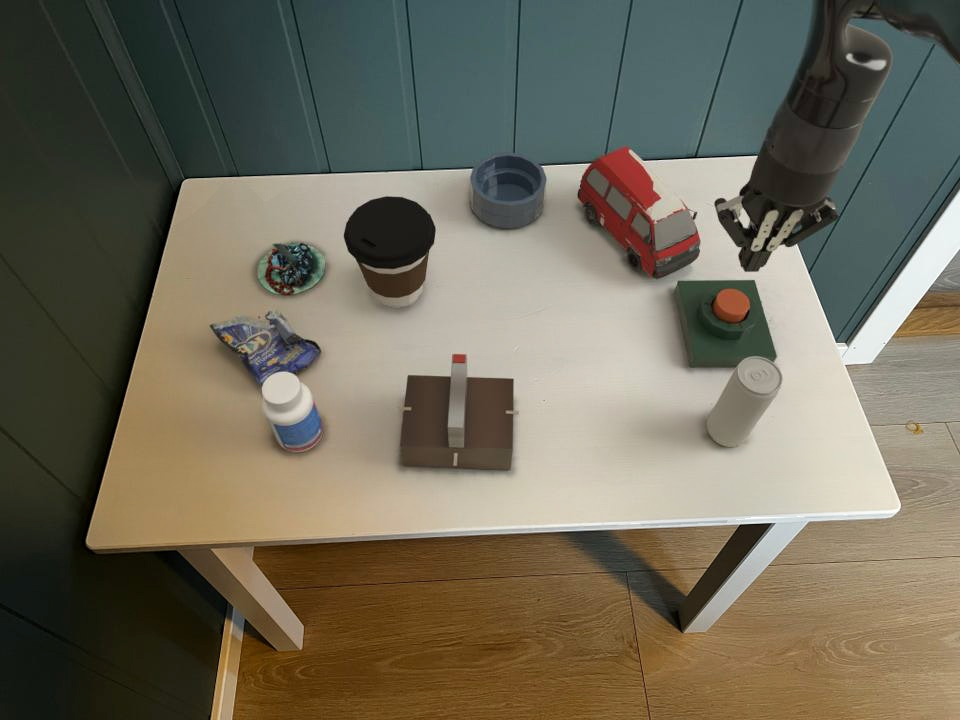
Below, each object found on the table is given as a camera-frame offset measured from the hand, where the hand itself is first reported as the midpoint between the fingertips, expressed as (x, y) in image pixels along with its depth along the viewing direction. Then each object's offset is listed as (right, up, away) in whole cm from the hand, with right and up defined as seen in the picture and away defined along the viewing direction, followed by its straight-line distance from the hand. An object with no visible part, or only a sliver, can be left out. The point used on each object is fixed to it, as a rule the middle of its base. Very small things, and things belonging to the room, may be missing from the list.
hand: (749, 265), depth 83 cm
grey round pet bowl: (-27, +12, +22) cm, 36 cm away
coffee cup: (-41, -2, +13) cm, 43 cm away
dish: (-56, +1, +15) cm, 58 cm away
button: (0, -5, +7) cm, 8 cm away
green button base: (0, -7, +10) cm, 12 cm away
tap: (-33, -16, -3) cm, 37 cm away
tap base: (-33, -19, +1) cm, 38 cm away
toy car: (-9, +6, +19) cm, 22 cm away
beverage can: (-2, -19, +2) cm, 19 cm away
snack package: (-56, -10, +7) cm, 58 cm away
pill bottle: (-51, -19, +1) cm, 55 cm away
